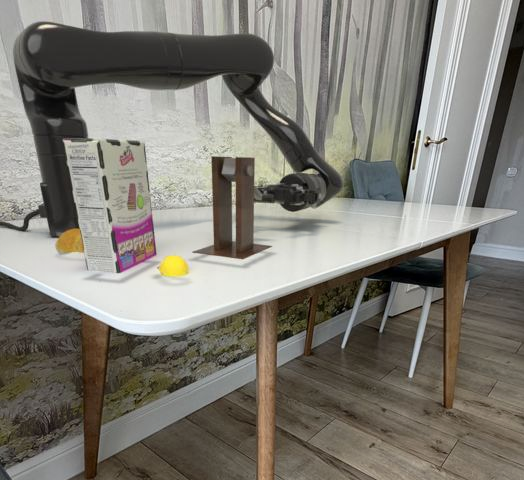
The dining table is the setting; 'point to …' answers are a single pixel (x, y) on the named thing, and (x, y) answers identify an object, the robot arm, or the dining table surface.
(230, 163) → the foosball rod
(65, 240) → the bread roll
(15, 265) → the dining table surface
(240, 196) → the bracket
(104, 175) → the candy bar box
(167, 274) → the yellow lemon
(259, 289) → the dining table surface
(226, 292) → the dining table surface
